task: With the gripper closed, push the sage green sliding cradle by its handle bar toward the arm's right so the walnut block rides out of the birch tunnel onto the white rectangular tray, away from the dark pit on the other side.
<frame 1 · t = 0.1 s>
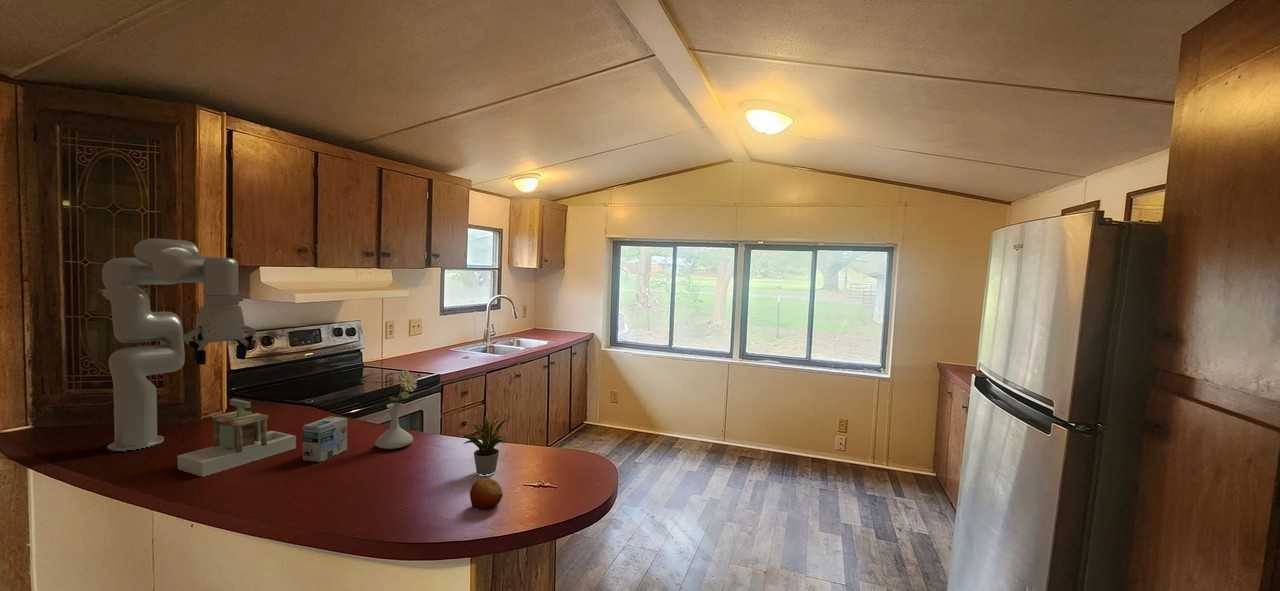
hand: (221, 361, 138), 31 cm above the worktop, tool pointing down, fingers open, 9 cm apart
flower in vase: (396, 445, 163), on the worktop
light bulb box: (325, 456, 152), on the worktop
block: (240, 445, 148), point 4 cm above the worktop, touching white rectangular tray
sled: (240, 422, 148), point 11 cm above the worktop, slide at 0.0 cm
white rectangular tray: (240, 458, 148), on the worktop
fruit: (486, 508, 122), on the worktop
house plant: (488, 471, 144), on the worktop
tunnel: (240, 430, 148), on the white rectangular tray, point 8 cm above the worktop
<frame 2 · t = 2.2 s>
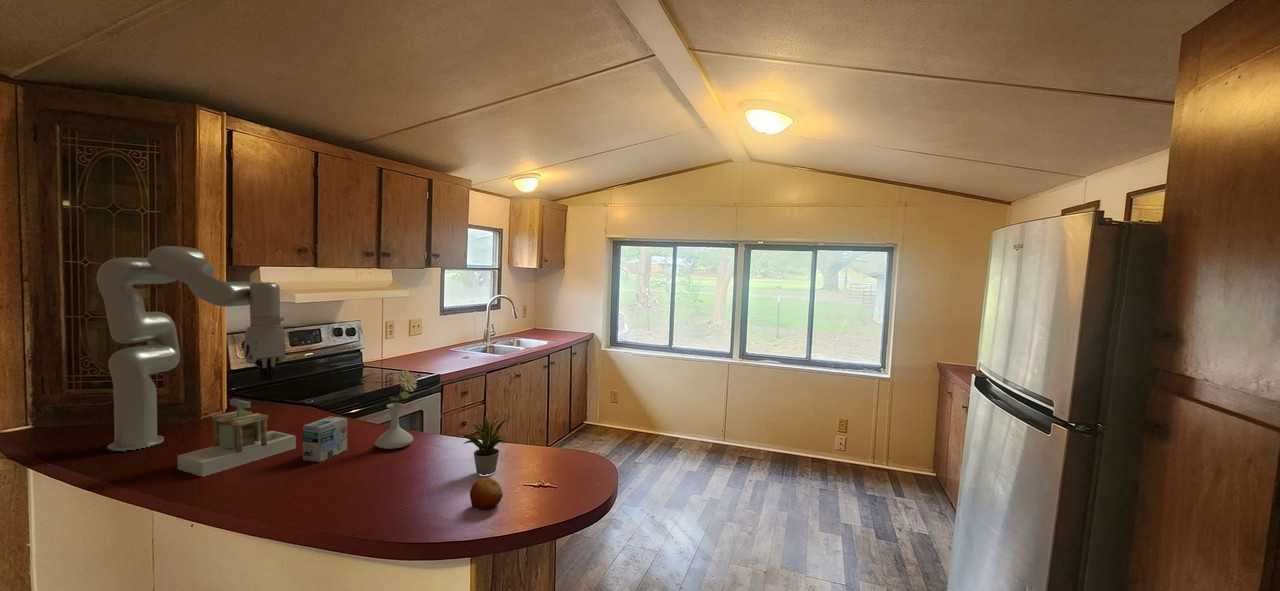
hand: (266, 379, 154), 23 cm above the worktop, tool pointing down, fingers closed
nothing on the worktop moved.
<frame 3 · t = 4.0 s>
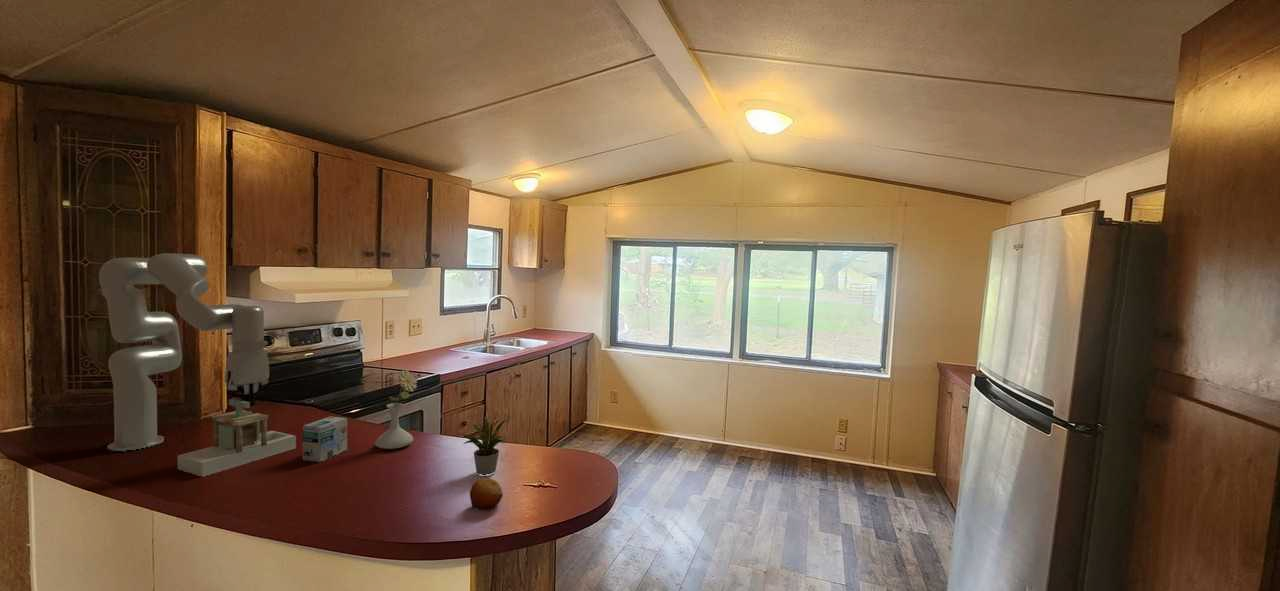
hand: (248, 405, 150), 16 cm above the worktop, tool pointing down, fingers closed
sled: (239, 422, 148), point 11 cm above the worktop, slide at -0.3 cm, touching gripper
everything else where it was.
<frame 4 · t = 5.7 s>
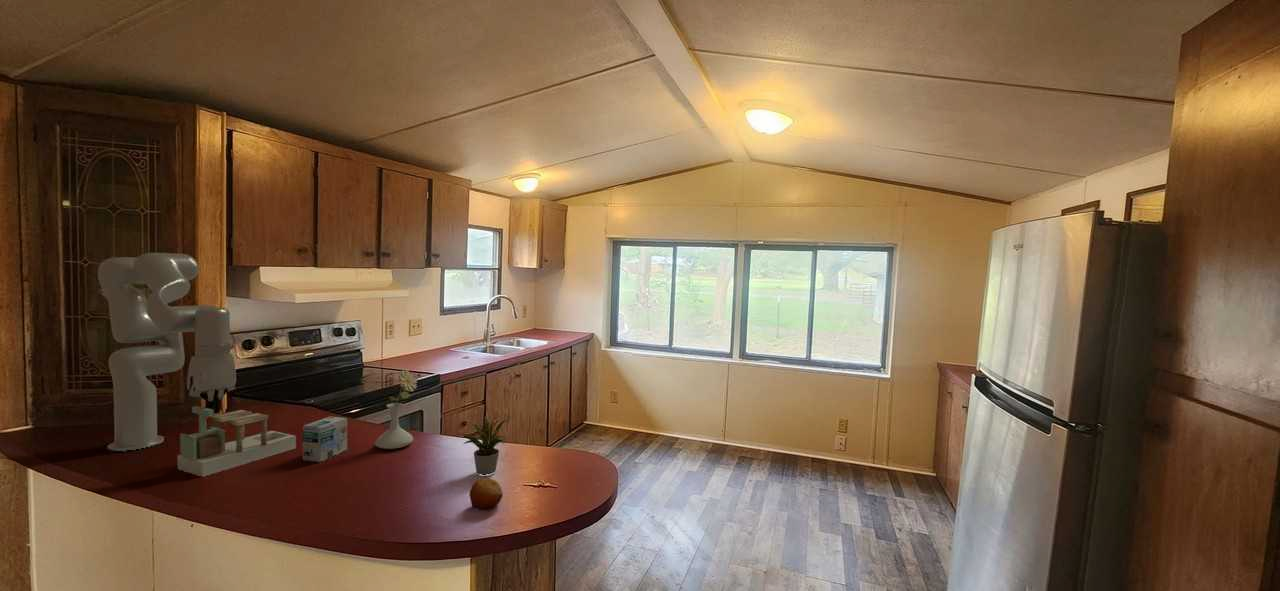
hand: (213, 413, 141), 16 cm above the worktop, tool pointing down, fingers closed
block: (205, 454, 140), point 4 cm above the worktop, touching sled
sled: (202, 431, 139), point 11 cm above the worktop, slide at -9.4 cm, touching block, gripper
everything else where it was.
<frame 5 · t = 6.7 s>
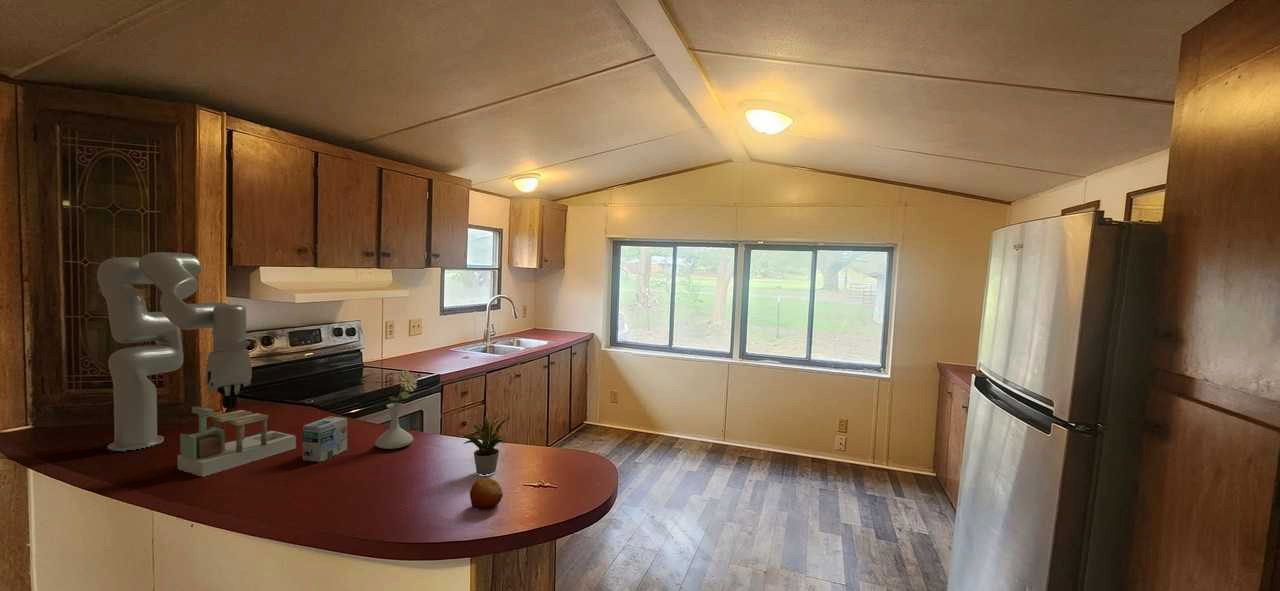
hand: (229, 407, 145), 16 cm above the worktop, tool pointing down, fingers closed
block: (205, 454, 140), point 4 cm above the worktop, touching white rectangular tray, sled
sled: (202, 431, 139), point 11 cm above the worktop, slide at -9.4 cm, touching block
everything else where it was.
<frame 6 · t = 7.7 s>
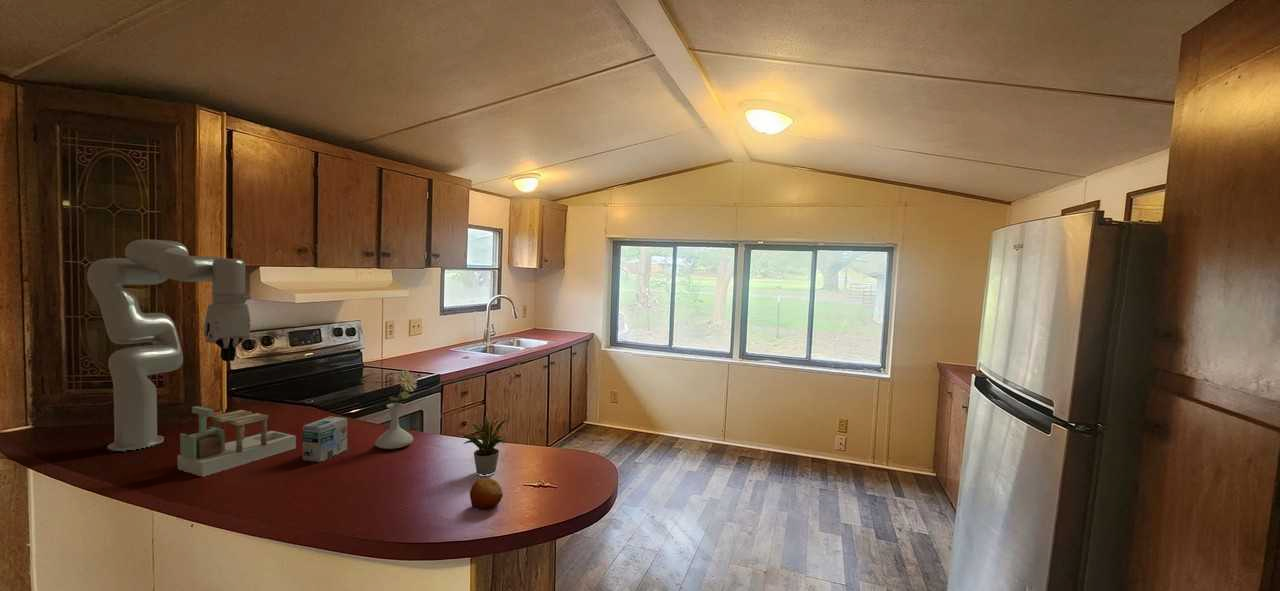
hand: (228, 360, 147), 30 cm above the worktop, tool pointing down, fingers closed
nothing on the worktop moved.
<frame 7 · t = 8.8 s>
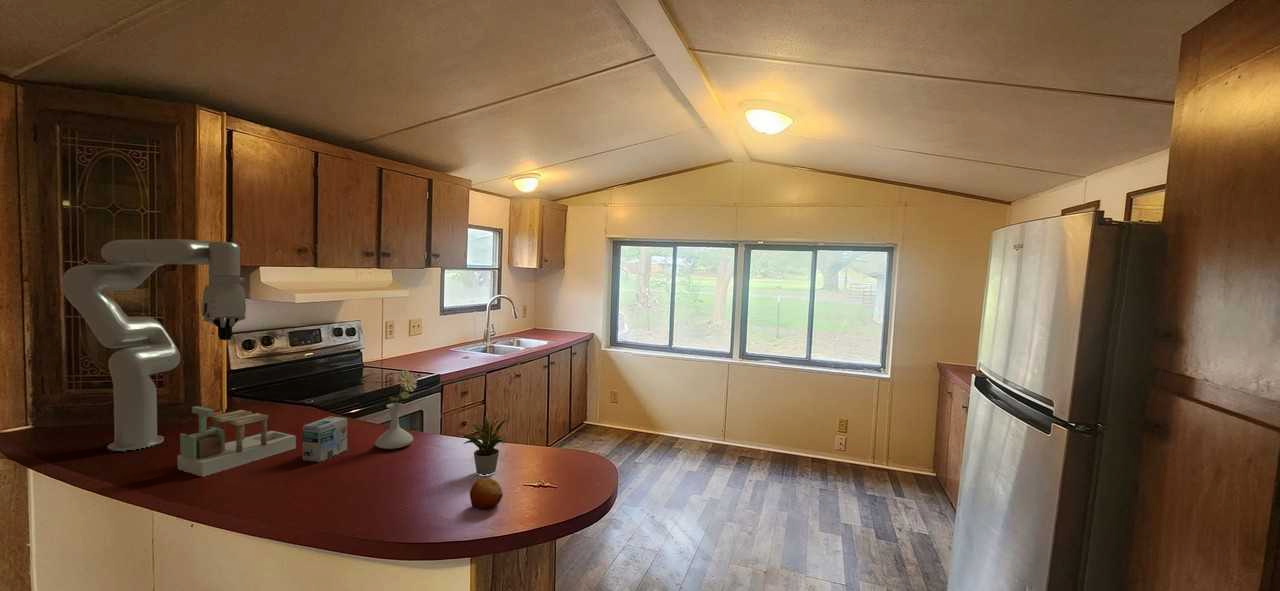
hand: (225, 339, 154), 35 cm above the worktop, tool pointing down, fingers closed
nothing on the worktop moved.
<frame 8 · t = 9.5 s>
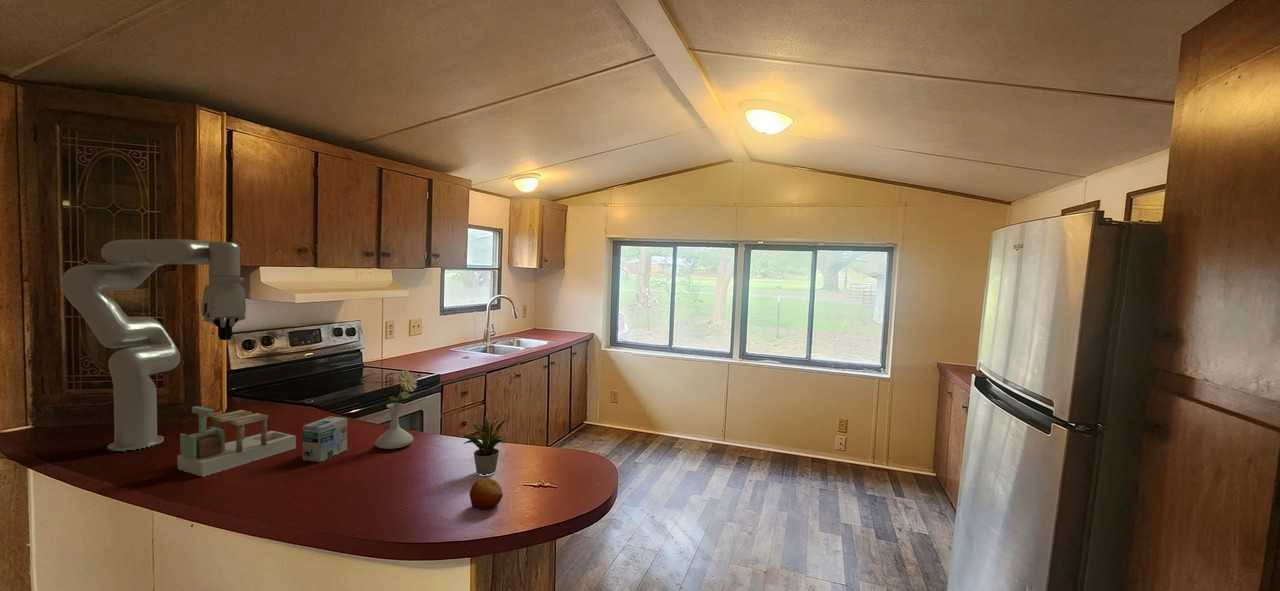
hand: (225, 339, 154), 35 cm above the worktop, tool pointing down, fingers closed
nothing on the worktop moved.
at the end: block inside the target area on the white rectangular tray (0.4 cm from its centre), point 4.0 cm above the white rectangular tray's base; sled slide at -9.4 cm; block tilted 0° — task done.
